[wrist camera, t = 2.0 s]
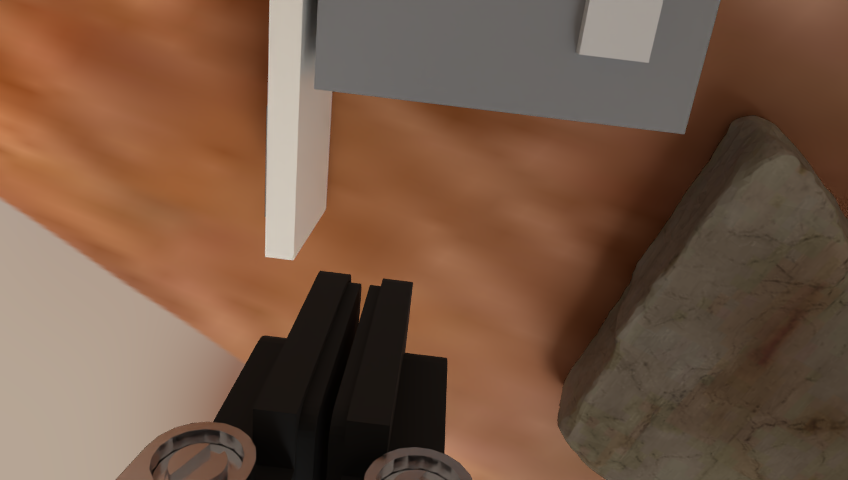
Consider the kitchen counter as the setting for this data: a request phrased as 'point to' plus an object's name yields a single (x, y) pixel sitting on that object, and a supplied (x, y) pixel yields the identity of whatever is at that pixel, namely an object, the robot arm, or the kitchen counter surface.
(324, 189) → the side door
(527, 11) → the camera housing
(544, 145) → the kitchen counter surface
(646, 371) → the marble piece
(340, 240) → the kitchen counter surface
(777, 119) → the kitchen counter surface
